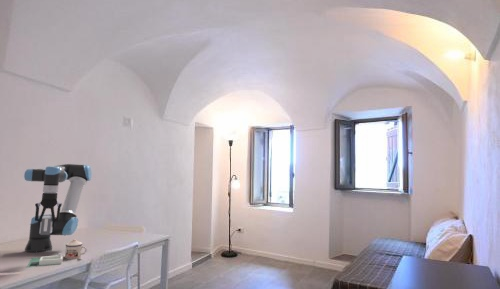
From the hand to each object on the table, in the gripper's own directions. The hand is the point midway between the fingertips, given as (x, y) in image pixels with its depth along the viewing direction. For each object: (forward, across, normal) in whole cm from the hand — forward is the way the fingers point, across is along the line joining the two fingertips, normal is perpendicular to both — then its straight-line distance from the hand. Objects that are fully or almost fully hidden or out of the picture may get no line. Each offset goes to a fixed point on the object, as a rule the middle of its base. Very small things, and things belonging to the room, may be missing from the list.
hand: (45, 232), depth 184 cm
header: (+16, +5, -3) cm, 17 cm away
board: (+17, +2, 0) cm, 17 cm away
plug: (+1, 0, 0) cm, 1 cm away
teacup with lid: (+17, +16, +6) cm, 25 cm away
